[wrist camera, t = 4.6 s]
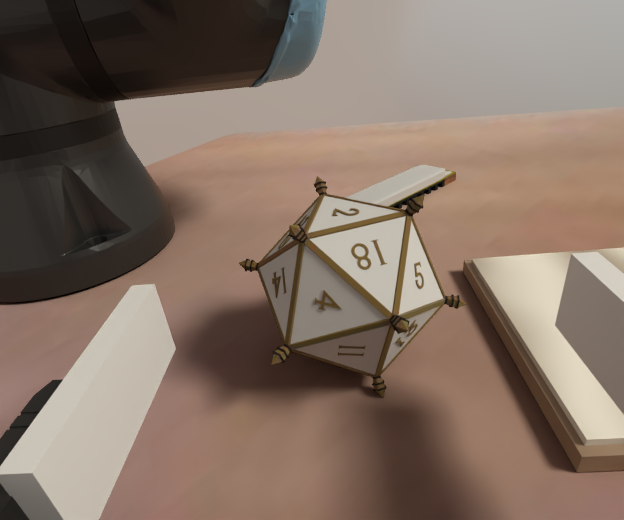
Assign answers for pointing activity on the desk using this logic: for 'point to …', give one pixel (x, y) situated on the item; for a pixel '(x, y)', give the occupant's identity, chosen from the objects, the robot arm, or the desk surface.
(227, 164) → the desk surface
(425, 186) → the harmonica
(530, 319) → the board
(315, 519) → the desk surface
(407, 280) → the game die
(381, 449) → the desk surface
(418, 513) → the desk surface
